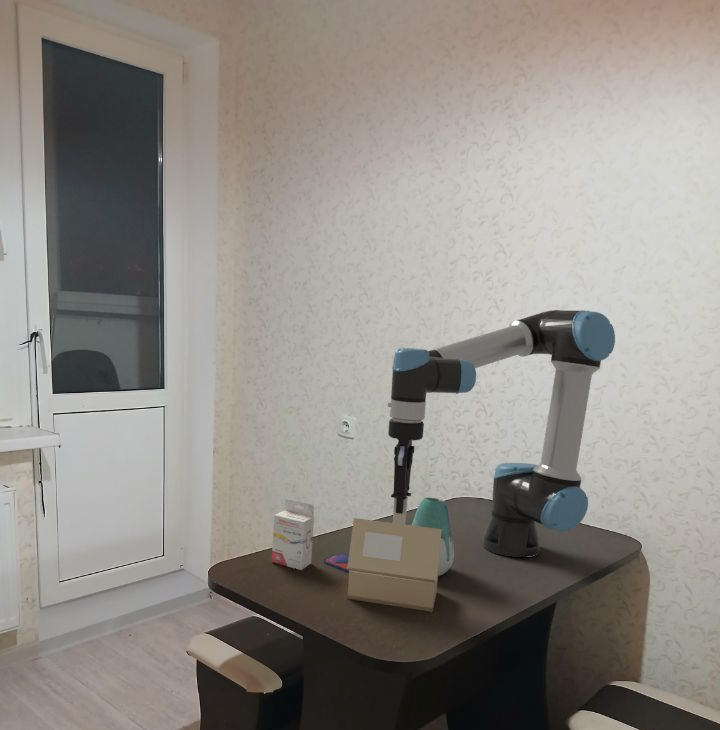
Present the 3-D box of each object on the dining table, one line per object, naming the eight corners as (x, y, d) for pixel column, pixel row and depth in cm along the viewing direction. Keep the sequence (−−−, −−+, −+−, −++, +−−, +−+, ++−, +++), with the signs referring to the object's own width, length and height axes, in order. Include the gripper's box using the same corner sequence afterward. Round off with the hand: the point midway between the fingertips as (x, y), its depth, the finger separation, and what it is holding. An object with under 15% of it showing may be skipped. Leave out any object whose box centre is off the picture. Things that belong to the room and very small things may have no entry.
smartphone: (341, 556, 158) (341, 552, 158) (389, 574, 149) (389, 569, 149) (321, 564, 153) (321, 560, 153) (370, 583, 143) (370, 578, 143)
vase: (424, 558, 160) (429, 488, 158) (462, 573, 151) (467, 500, 150) (393, 569, 151) (398, 495, 150) (431, 585, 143) (437, 508, 142)
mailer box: (436, 592, 140) (438, 565, 140) (432, 612, 130) (434, 583, 130) (357, 580, 144) (359, 554, 143) (347, 598, 134) (349, 571, 133)
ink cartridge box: (270, 562, 150) (273, 502, 149) (281, 556, 155) (284, 497, 154) (301, 570, 147) (305, 509, 146) (312, 563, 151) (315, 503, 150)
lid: (441, 529, 133) (441, 529, 132) (436, 583, 130) (436, 583, 129) (354, 518, 137) (353, 517, 136) (347, 570, 134) (346, 570, 133)
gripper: (394, 413, 144) (387, 515, 146) (384, 422, 131) (376, 533, 133) (427, 417, 142) (419, 519, 144) (420, 426, 129) (412, 538, 131)
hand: (398, 526), depth 138 cm, fingers closed
